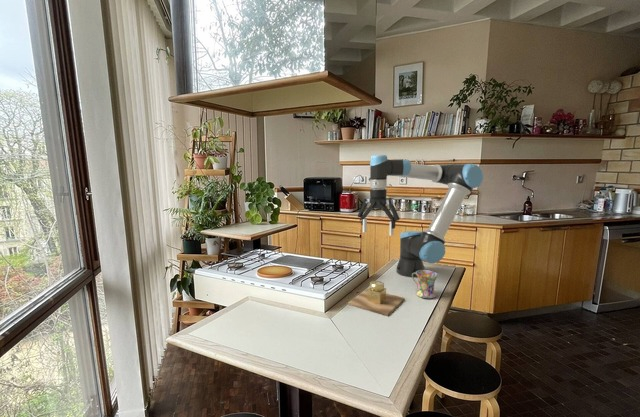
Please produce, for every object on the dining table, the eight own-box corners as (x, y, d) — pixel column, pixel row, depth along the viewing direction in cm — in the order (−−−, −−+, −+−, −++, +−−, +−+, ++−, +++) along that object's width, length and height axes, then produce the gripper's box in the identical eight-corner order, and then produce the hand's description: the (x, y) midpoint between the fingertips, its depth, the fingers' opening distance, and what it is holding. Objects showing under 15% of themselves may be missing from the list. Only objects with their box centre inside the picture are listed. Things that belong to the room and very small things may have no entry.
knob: (367, 300, 132) (367, 283, 131) (373, 296, 137) (373, 278, 136) (380, 304, 128) (380, 286, 127) (386, 299, 133) (386, 281, 132)
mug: (440, 296, 138) (441, 273, 137) (429, 302, 132) (430, 278, 131) (417, 288, 147) (417, 267, 146) (405, 293, 141) (406, 271, 140)
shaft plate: (367, 290, 145) (367, 280, 145) (404, 299, 135) (404, 289, 134) (347, 304, 131) (348, 293, 130) (387, 316, 120) (387, 304, 120)
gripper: (350, 188, 147) (350, 232, 149) (401, 190, 132) (400, 238, 135) (358, 187, 153) (358, 229, 155) (407, 189, 138) (406, 235, 141)
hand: (377, 233), depth 145 cm, fingers open, 13 cm apart
